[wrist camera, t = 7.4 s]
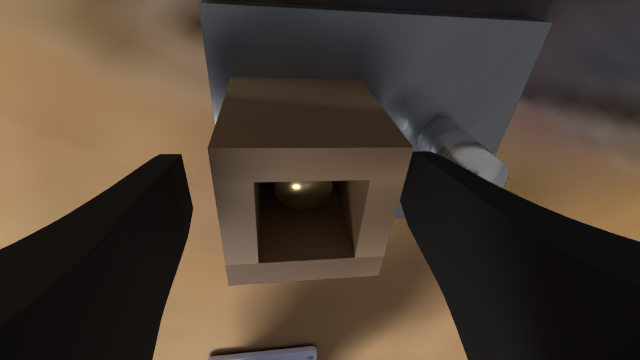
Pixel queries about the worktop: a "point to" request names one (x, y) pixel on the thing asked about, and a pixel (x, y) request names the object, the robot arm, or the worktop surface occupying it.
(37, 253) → the robot arm
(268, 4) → the pin plate
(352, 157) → the hollow block
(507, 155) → the worktop surface
